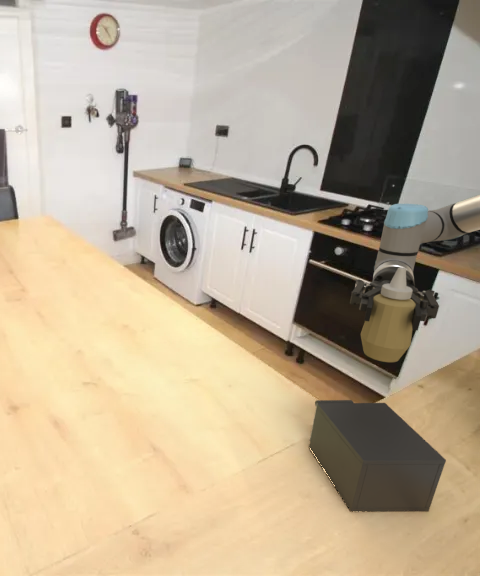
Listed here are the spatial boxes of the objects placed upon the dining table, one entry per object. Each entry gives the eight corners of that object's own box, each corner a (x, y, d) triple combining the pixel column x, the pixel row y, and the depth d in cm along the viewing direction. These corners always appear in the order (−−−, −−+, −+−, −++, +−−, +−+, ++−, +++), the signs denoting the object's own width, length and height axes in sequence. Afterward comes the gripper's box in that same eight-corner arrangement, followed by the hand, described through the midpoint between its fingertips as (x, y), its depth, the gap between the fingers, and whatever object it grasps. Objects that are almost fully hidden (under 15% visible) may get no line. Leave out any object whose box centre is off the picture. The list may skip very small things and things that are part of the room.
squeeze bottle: (369, 342, 86) (388, 259, 80) (413, 358, 79) (438, 270, 73) (348, 353, 82) (366, 267, 76) (393, 370, 75) (417, 278, 69)
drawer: (299, 426, 86) (306, 390, 82) (354, 425, 85) (363, 389, 82) (347, 496, 69) (357, 454, 66) (416, 495, 69) (429, 454, 66)
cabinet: (308, 448, 81) (317, 403, 77) (373, 447, 80) (385, 402, 77) (350, 511, 67) (363, 460, 63) (428, 511, 67) (446, 460, 63)
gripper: (444, 306, 87) (456, 351, 69) (339, 290, 97) (327, 325, 80) (454, 272, 84) (469, 310, 67) (345, 259, 95) (333, 289, 77)
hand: (391, 318), depth 73 cm, fingers closed on squeeze bottle, 6 cm apart
